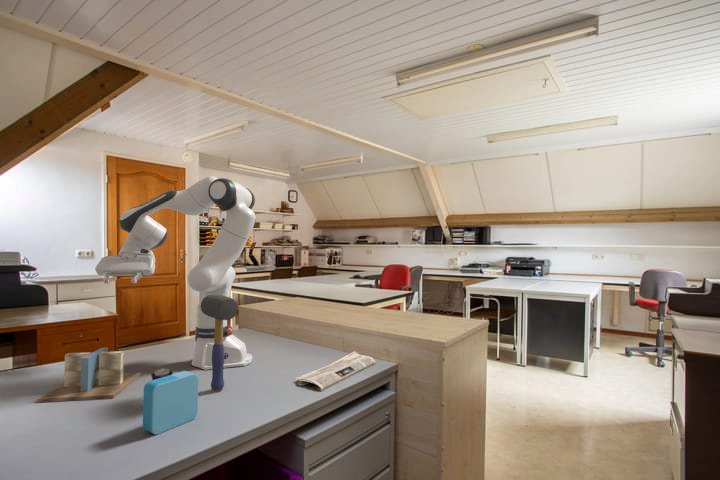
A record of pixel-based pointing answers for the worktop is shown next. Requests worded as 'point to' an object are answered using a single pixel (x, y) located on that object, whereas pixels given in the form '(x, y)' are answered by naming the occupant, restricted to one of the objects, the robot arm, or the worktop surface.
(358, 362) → the newspaper
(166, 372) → the push button
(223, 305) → the rubber mallet
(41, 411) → the worktop surface
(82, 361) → the slotted plate
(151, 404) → the blue carrying case
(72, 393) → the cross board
